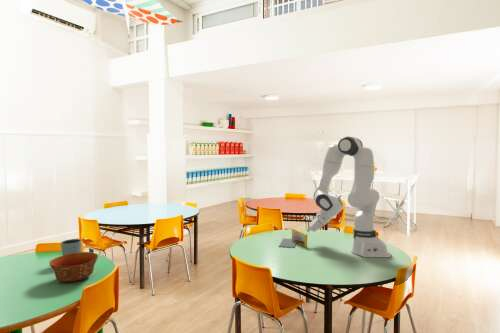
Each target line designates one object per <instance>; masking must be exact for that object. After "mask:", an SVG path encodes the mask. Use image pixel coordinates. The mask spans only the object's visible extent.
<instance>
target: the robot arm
mask: <svg viewBox="0 0 500 333" xmlns="http://www.w3.org/2000/svg"><path fill="white" fill-rule="evenodd" d="M346 155H347V156H349V157H353V159H354V178H353V184H352V186H351V190H350V192H349V194H348V196H347V202H348V204H349V205H350V207H352V208H356V212H355V214H354V216H353V217H354V219H353V220H354V221H353V222H354V223H353V226H354V227H353V231H352V235H353V242H352V247H351V250H350V252H351V253H352V254H354V255H358V256H360V257H364V258H390V257H391V256H392V252H391V251H389V249H388V247H387V245H386V243H385V242H384V240H382V239H380V237H378V236H379V232H377V231H376V229H374V221H375V218H374V217H375V212H376V209H377V204H378V202H379V201H380V193H379V191H377V190H376V189H374V188H371V187H372V183H373V182H374V180H375V161H374V154H373V151H372V149H371V148H368V147H364V146H363V142H362V140H361V139H359V138H357V137H354V136H344V137H342V138H341V139H340V140H339V141H338V144H336V143H335V144H330V146H329V147H328V149H327V151H326V154H325V156H324V160H323V163H322V164H323V165H322V176H321V179H320V181H319V186H318V188H317V189H316V190H315V191H314V193H313V200H314V202H315V205H316V206H317V207H319V208H320V210H319V211H318V212H317V213H316V216H315V217H314V218H313V219H312V220H310V222H311V223H310V225H309V227H308V228H307V229H306V232H307V233H309V232H310V231H311V232H312V233H313V232H316V231H318V230H319V229H321V228H322V227H324V226H326V225H327V224H328V223H329V222H330V221H331V220H332V219H333V218H334V217H336V216H337V215H338V214H339V213H340V212H342V210H343V209H344V204H343V202H342V201H341V199H340V198H339V197H336V196H332V195H330V194H329V188H330V184H331V181H332V180H333V178H334V177H335V176H337V175H338V173H339V172H340V169H341V167H342V164H343V159H344V157H346Z"/></svg>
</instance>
